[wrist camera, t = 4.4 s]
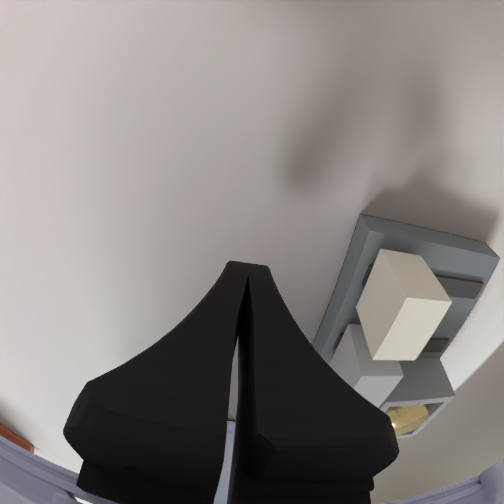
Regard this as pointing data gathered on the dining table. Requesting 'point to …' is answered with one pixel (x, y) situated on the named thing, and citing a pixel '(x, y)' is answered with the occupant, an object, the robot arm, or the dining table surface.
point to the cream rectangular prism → (400, 306)
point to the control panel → (15, 439)
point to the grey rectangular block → (364, 367)
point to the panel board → (447, 273)
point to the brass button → (407, 417)
